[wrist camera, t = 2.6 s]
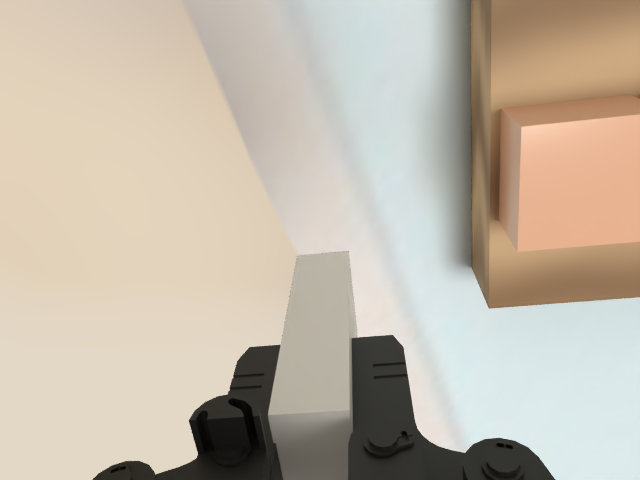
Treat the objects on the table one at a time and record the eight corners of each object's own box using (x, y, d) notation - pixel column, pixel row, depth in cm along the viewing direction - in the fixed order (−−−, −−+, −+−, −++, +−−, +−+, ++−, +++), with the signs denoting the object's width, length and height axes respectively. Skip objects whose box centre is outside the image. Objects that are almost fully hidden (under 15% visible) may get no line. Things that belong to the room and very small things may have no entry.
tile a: (500, 108, 22) (521, 126, 20) (629, 94, 22) (669, 111, 19) (498, 221, 25) (517, 251, 22) (616, 210, 24) (650, 240, 21)
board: (470, -14, 24) (491, -12, 21) (739, -49, 23) (810, -53, 20) (472, 268, 30) (488, 308, 27) (686, 250, 29) (733, 290, 26)
